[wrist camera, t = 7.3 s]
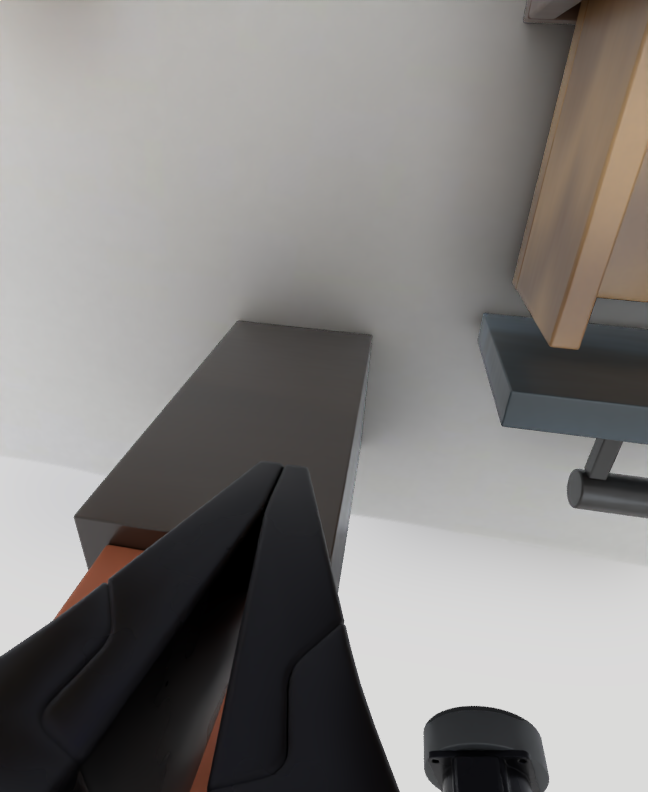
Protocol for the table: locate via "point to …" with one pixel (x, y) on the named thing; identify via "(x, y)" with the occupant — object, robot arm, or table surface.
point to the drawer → (585, 264)
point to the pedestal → (242, 435)
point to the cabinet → (552, 11)
